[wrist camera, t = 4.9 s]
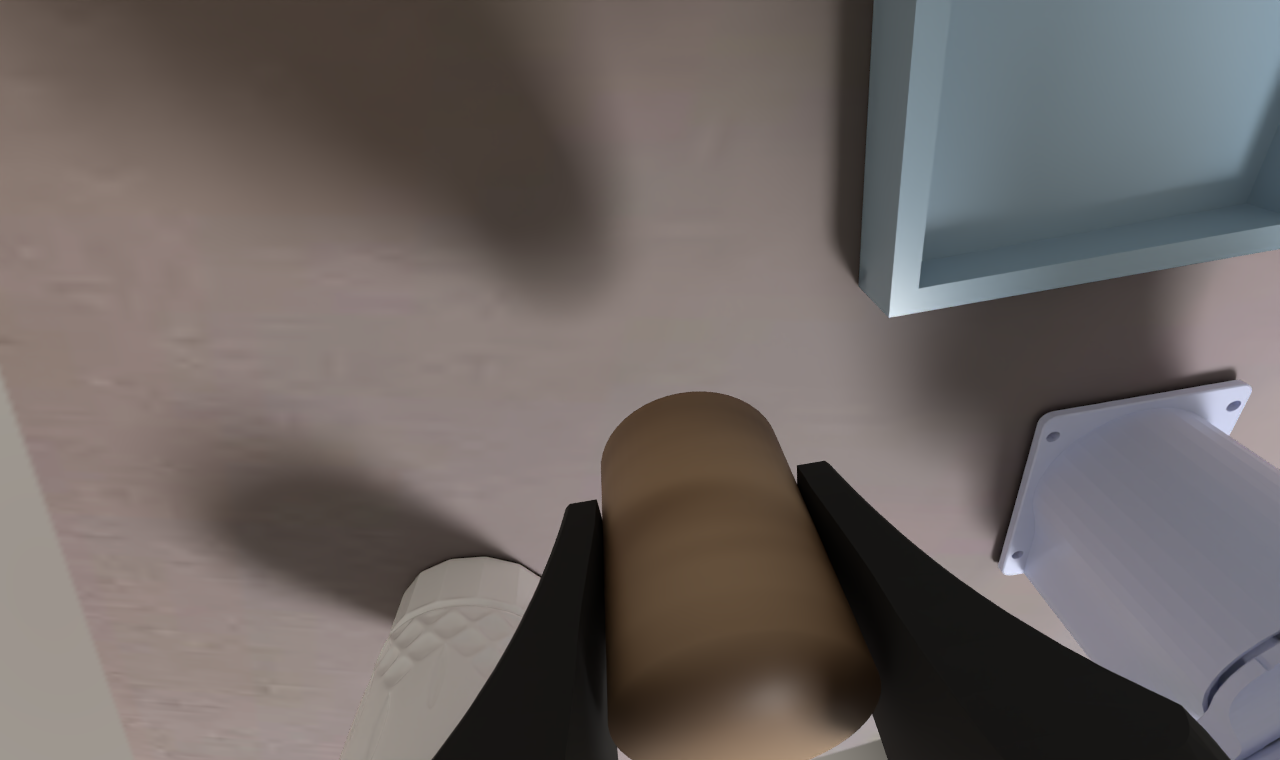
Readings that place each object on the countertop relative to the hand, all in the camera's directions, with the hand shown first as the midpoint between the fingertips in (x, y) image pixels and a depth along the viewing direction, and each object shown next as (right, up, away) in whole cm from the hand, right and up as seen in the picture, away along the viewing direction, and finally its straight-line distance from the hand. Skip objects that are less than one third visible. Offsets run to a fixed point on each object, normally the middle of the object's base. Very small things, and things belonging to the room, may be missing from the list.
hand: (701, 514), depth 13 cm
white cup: (-9, -7, +14) cm, 18 cm away
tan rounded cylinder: (0, +1, +1) cm, 2 cm away
